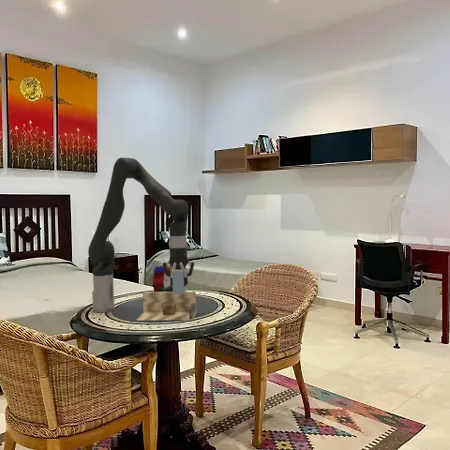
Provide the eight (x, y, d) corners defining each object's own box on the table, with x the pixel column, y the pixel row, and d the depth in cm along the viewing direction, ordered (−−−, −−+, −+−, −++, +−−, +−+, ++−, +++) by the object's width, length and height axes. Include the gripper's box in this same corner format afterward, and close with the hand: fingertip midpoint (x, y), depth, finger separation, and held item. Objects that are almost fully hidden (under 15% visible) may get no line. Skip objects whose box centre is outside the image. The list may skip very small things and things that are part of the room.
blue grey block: (172, 294, 188) (172, 270, 188) (175, 290, 195) (174, 267, 195) (183, 293, 188) (182, 270, 188) (186, 290, 195) (185, 267, 195)
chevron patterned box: (135, 322, 190) (134, 299, 190) (144, 313, 205) (143, 292, 204) (191, 322, 189) (191, 298, 188) (196, 313, 204) (195, 291, 203)
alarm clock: (163, 297, 240) (162, 260, 239) (148, 296, 242) (147, 260, 241) (173, 291, 254) (171, 256, 253) (158, 291, 256) (157, 256, 255)
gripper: (159, 247, 187) (161, 287, 188) (193, 246, 187) (194, 287, 187) (163, 245, 195) (164, 284, 196) (195, 245, 194) (197, 284, 195)
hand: (179, 285), depth 192 cm, fingers closed on blue grey block, 4 cm apart
